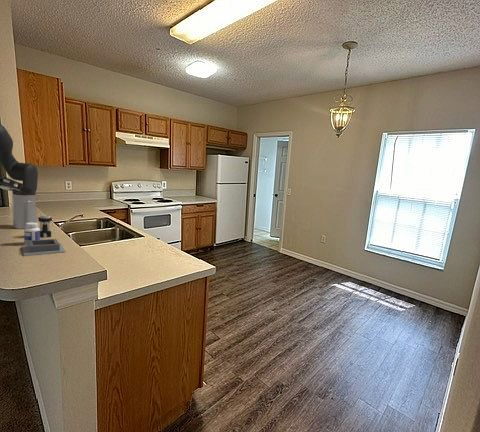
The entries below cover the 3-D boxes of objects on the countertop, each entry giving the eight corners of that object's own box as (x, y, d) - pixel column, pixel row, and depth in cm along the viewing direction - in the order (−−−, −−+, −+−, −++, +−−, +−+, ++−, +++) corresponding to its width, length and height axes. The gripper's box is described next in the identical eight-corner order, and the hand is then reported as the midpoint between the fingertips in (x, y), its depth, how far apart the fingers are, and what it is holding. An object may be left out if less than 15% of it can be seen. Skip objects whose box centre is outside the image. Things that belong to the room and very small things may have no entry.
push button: (34, 238, 119) (34, 216, 117) (34, 235, 123) (33, 215, 121) (52, 237, 123) (52, 216, 122) (51, 235, 127) (51, 214, 126)
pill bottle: (38, 241, 115) (38, 221, 114) (41, 244, 112) (41, 224, 111) (22, 242, 111) (22, 222, 110) (26, 245, 108) (25, 224, 107)
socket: (22, 246, 106) (21, 239, 105) (60, 244, 114) (60, 237, 114) (23, 255, 96) (23, 248, 96) (65, 252, 105) (65, 245, 105)
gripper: (-11, 162, 93) (38, 183, 107) (-24, 165, 101) (23, 184, 114) (-22, 181, 91) (30, 200, 104) (-34, 182, 99) (15, 200, 112)
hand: (27, 192), depth 109 cm, fingers open, 8 cm apart
